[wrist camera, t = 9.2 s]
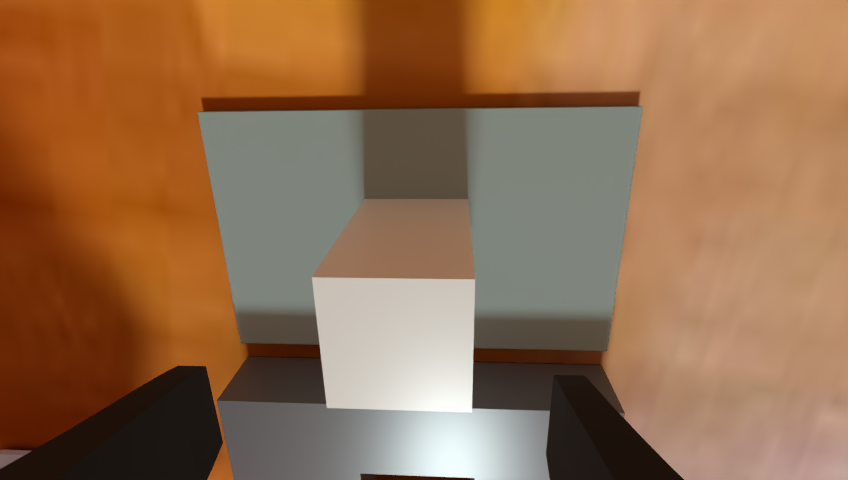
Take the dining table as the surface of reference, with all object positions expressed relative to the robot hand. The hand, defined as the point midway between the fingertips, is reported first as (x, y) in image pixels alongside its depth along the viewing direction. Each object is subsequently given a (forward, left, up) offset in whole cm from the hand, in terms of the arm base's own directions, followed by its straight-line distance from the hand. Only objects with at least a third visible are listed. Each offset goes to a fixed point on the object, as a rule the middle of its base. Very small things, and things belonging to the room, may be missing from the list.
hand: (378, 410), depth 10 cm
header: (0, -12, -10) cm, 15 cm away
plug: (0, 0, -10) cm, 10 cm away
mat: (0, 0, -10) cm, 10 cm away
